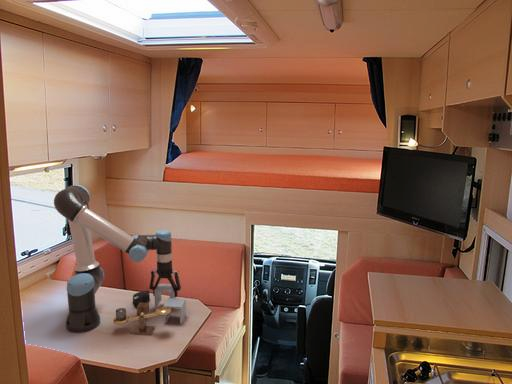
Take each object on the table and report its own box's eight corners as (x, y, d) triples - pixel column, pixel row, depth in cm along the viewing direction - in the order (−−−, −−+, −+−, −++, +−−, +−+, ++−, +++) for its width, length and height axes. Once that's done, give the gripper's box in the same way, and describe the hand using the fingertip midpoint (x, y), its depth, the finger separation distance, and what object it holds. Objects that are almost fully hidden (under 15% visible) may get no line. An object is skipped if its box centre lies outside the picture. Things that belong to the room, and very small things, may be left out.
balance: (111, 333, 184) (110, 311, 182) (117, 325, 191) (116, 303, 189) (169, 336, 182) (168, 314, 180) (173, 328, 189) (172, 306, 187)
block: (137, 319, 197) (136, 306, 195) (140, 315, 201) (140, 302, 200) (146, 320, 196) (145, 307, 195) (149, 315, 201) (148, 302, 199)
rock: (134, 309, 208) (134, 298, 206) (131, 300, 217) (131, 290, 215) (152, 306, 211) (152, 295, 210) (148, 298, 220) (148, 288, 219)
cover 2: (164, 323, 194) (163, 306, 192) (169, 314, 202) (168, 298, 200) (181, 324, 193) (181, 307, 191) (186, 315, 202) (185, 298, 200)
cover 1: (154, 307, 204) (154, 290, 203) (160, 299, 213) (159, 283, 211) (171, 307, 204) (171, 291, 202) (176, 300, 212) (175, 284, 211)
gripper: (141, 262, 201) (142, 304, 205) (183, 264, 200) (184, 306, 204) (146, 257, 208) (147, 297, 213) (186, 258, 207) (187, 299, 211)
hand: (165, 301), depth 208 cm, fingers closed on cover 1, 9 cm apart
